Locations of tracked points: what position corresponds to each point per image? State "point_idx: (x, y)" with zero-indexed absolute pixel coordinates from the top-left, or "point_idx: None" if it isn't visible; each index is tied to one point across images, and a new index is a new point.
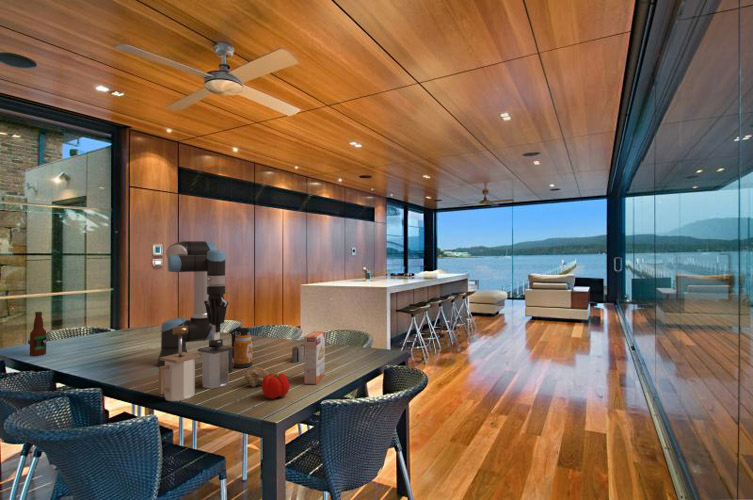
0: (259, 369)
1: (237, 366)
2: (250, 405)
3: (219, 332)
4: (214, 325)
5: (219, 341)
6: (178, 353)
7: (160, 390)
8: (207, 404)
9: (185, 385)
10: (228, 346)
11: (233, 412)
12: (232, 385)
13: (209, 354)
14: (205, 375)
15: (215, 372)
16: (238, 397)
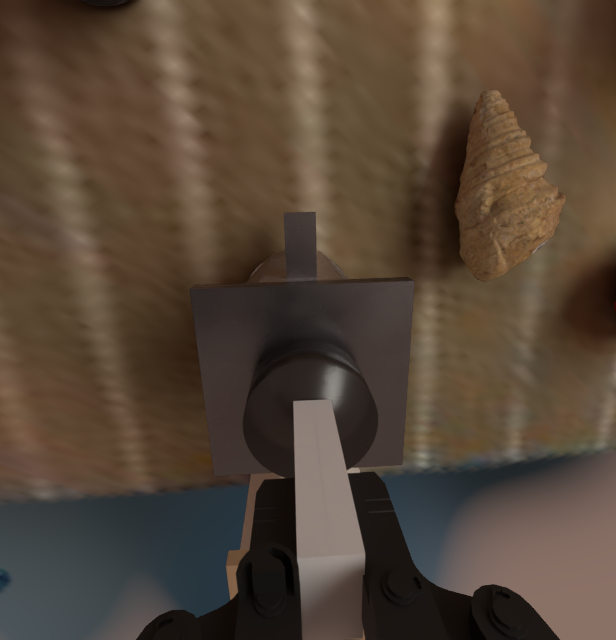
0: (555, 216)
1: (114, 1)
2: (599, 388)
3: (341, 449)
4: (361, 632)
5: (374, 424)
6: (234, 595)
7: None
8: (455, 450)
9: None
10: (359, 295)
11: (582, 449)
12: (373, 271)
13: None
14: None
15: None
16: (507, 358)
